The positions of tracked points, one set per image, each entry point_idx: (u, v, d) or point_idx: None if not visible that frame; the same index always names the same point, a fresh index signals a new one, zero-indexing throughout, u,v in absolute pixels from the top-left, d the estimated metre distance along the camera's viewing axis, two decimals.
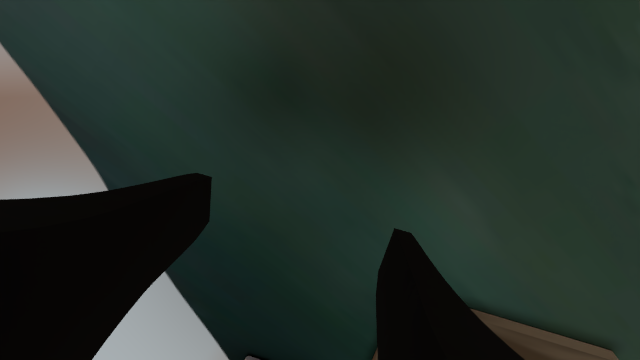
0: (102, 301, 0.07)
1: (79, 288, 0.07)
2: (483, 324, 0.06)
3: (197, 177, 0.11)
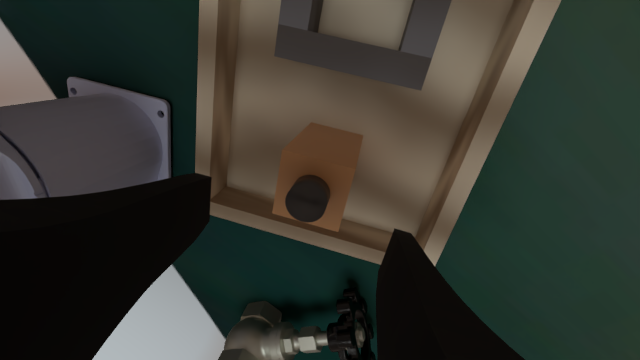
0: (102, 301, 0.07)
1: (79, 288, 0.07)
2: (483, 324, 0.06)
3: (197, 177, 0.11)
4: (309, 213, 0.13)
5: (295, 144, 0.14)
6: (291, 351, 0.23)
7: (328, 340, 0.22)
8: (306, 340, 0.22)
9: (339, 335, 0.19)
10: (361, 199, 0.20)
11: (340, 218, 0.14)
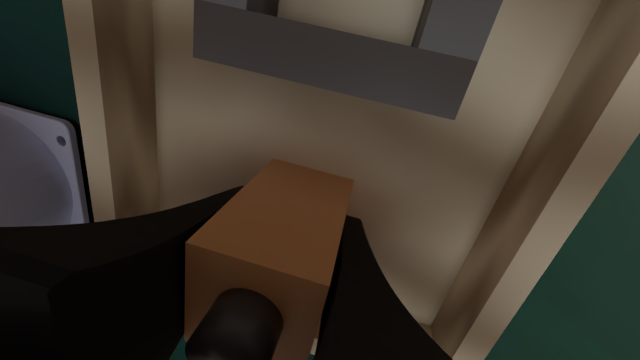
0: (168, 323, 0.07)
1: (152, 312, 0.06)
2: (396, 298, 0.06)
3: None
4: None
5: (222, 222, 0.08)
6: None
7: None
8: None
9: None
10: None
11: None
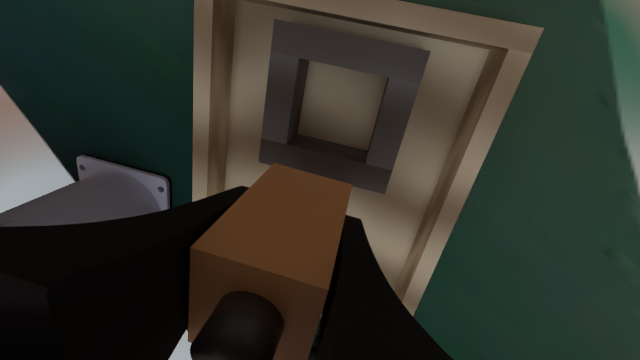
0: (167, 323, 0.07)
1: (152, 312, 0.06)
2: (396, 298, 0.06)
3: (245, 190, 0.10)
4: None
5: (225, 226, 0.08)
6: None
7: None
8: None
9: None
10: None
11: None
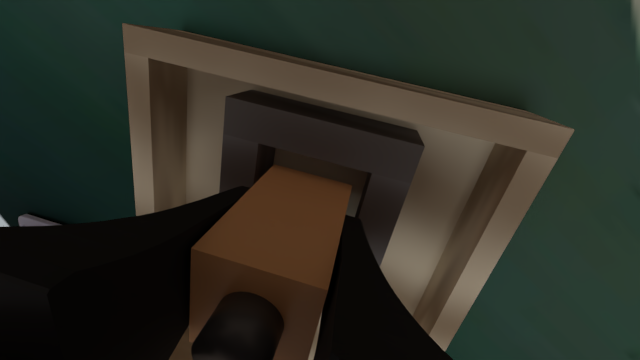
0: (168, 323, 0.07)
1: (152, 312, 0.06)
2: (396, 298, 0.06)
3: (245, 190, 0.10)
4: None
5: (225, 227, 0.08)
6: None
7: None
8: None
9: None
10: None
11: None
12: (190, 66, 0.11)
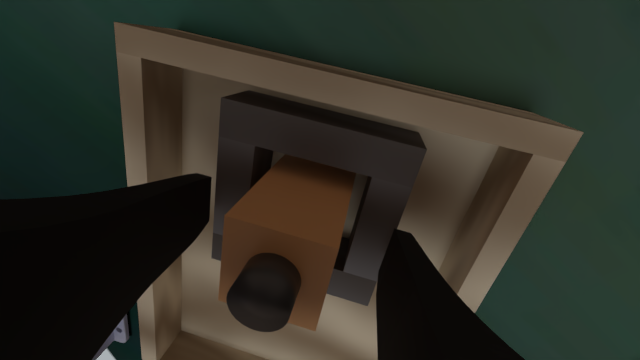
0: (102, 301, 0.07)
1: (79, 288, 0.07)
2: (483, 324, 0.06)
3: (197, 177, 0.11)
4: (265, 320, 0.08)
5: (250, 201, 0.09)
6: None
7: None
8: None
9: None
10: (320, 357, 0.19)
11: (318, 314, 0.09)
12: (184, 66, 0.11)
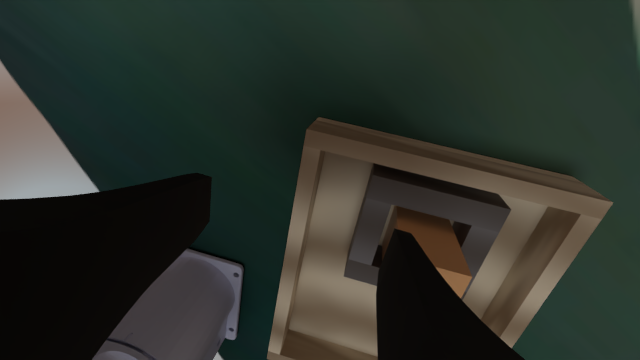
0: (102, 301, 0.07)
1: (79, 288, 0.07)
2: (483, 324, 0.06)
3: (197, 177, 0.11)
4: None
5: None
6: None
7: None
8: None
9: None
10: None
11: None
12: (350, 156, 0.16)
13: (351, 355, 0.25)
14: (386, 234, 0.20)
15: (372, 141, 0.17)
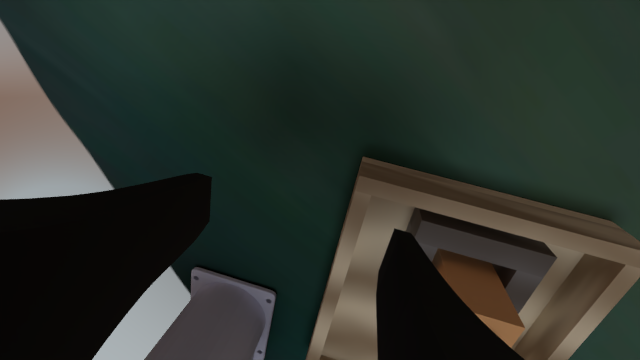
0: (102, 301, 0.07)
1: (79, 288, 0.07)
2: (483, 324, 0.06)
3: (197, 177, 0.11)
4: None
5: (457, 293, 0.16)
6: None
7: None
8: None
9: None
10: None
11: None
12: (401, 202, 0.17)
13: None
14: None
15: (422, 187, 0.17)
